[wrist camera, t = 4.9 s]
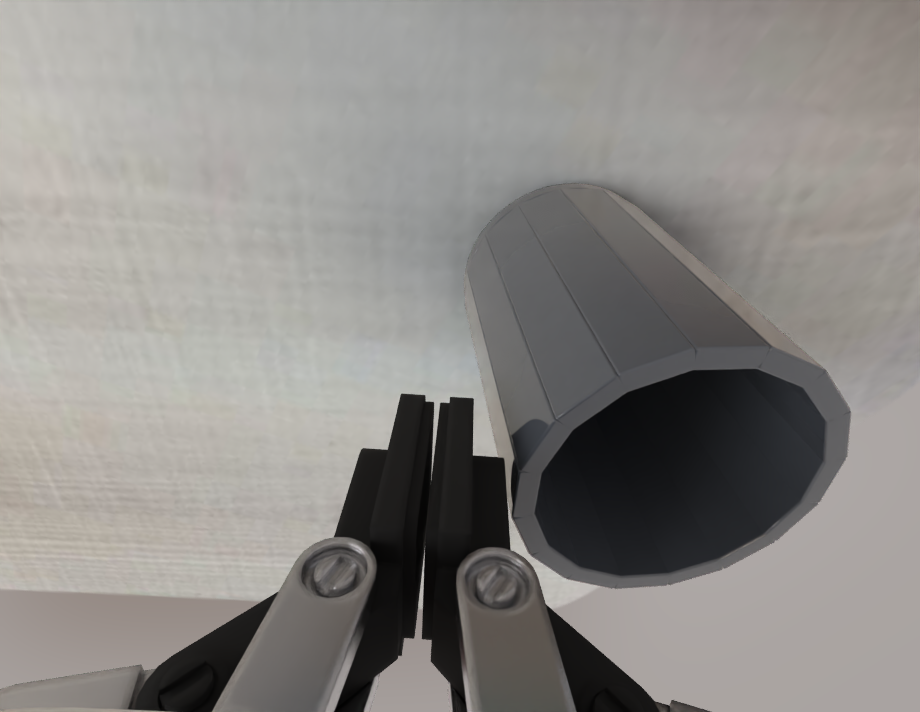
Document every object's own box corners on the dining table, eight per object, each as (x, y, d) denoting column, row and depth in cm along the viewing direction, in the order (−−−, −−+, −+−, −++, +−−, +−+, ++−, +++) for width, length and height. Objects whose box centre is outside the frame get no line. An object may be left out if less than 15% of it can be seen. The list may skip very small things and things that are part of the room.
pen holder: (459, 361, 21) (499, 597, 13) (469, 180, 17) (536, 350, 9) (630, 358, 22) (774, 579, 13) (676, 184, 18) (917, 344, 10)
